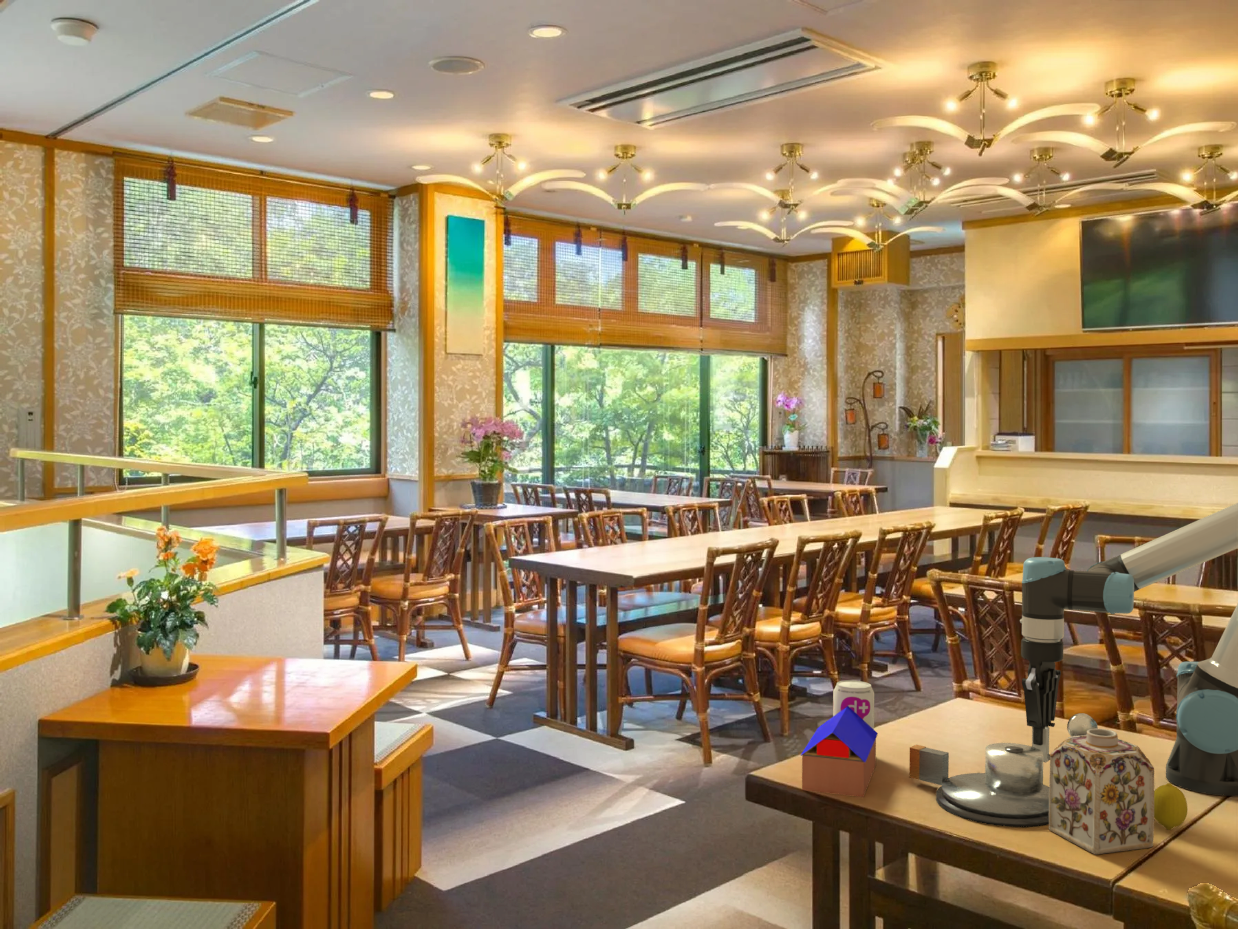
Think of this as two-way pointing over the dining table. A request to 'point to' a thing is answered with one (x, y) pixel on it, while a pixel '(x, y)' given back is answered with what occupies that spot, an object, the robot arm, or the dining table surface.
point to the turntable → (975, 788)
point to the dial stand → (1079, 725)
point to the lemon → (1169, 806)
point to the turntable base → (989, 818)
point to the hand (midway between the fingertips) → (1040, 760)
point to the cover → (1014, 767)
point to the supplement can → (855, 699)
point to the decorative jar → (1101, 793)
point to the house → (840, 756)
